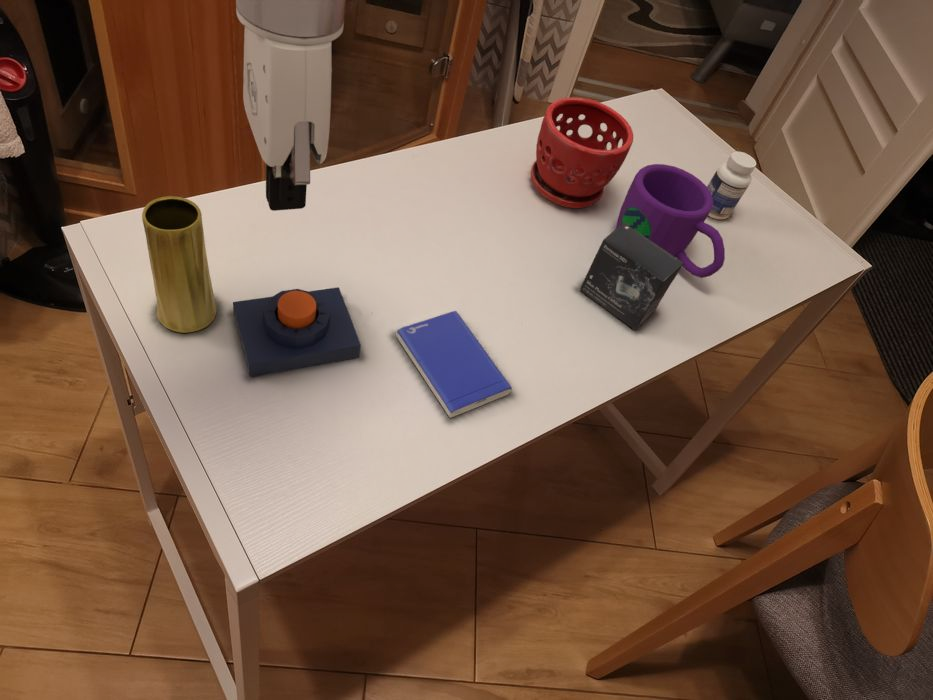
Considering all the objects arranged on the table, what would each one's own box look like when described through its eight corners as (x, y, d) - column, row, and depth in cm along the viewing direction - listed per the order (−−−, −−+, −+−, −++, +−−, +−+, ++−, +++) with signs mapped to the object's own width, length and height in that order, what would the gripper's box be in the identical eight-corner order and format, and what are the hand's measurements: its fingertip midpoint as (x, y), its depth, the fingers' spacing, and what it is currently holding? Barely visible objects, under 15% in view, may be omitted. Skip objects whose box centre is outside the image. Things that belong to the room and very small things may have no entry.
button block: (249, 377, 72) (248, 353, 69) (233, 314, 77) (231, 290, 74) (359, 357, 77) (362, 334, 74) (337, 299, 82) (339, 276, 79)
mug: (594, 227, 101) (619, 172, 93) (645, 209, 106) (673, 155, 99) (676, 307, 93) (711, 253, 86) (727, 283, 99) (764, 230, 91)
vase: (225, 323, 76) (215, 225, 65) (169, 340, 73) (149, 241, 62) (204, 286, 79) (191, 187, 68) (149, 302, 76) (127, 200, 65)
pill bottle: (699, 194, 112) (728, 143, 105) (730, 206, 112) (762, 157, 105) (695, 212, 109) (725, 161, 101) (727, 225, 108) (759, 174, 101)
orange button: (282, 331, 72) (282, 320, 71) (274, 304, 75) (274, 293, 73) (319, 325, 74) (320, 315, 73) (310, 299, 76) (311, 288, 75)
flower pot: (507, 172, 105) (528, 102, 96) (571, 157, 111) (596, 90, 102) (557, 226, 99) (584, 157, 90) (622, 207, 106) (653, 141, 96)
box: (577, 291, 91) (601, 237, 84) (599, 272, 95) (624, 220, 87) (633, 332, 89) (664, 281, 81) (654, 312, 92) (685, 261, 85)
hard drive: (397, 328, 79) (451, 410, 73) (456, 309, 82) (513, 386, 77) (395, 337, 80) (448, 419, 74) (454, 317, 84) (509, 394, 78)
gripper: (217, -52, 51) (227, 156, 65) (259, 53, 43) (260, 265, 56) (317, -45, 54) (306, 152, 68) (373, 55, 46) (348, 256, 59)
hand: (285, 203), depth 62 cm, fingers closed
